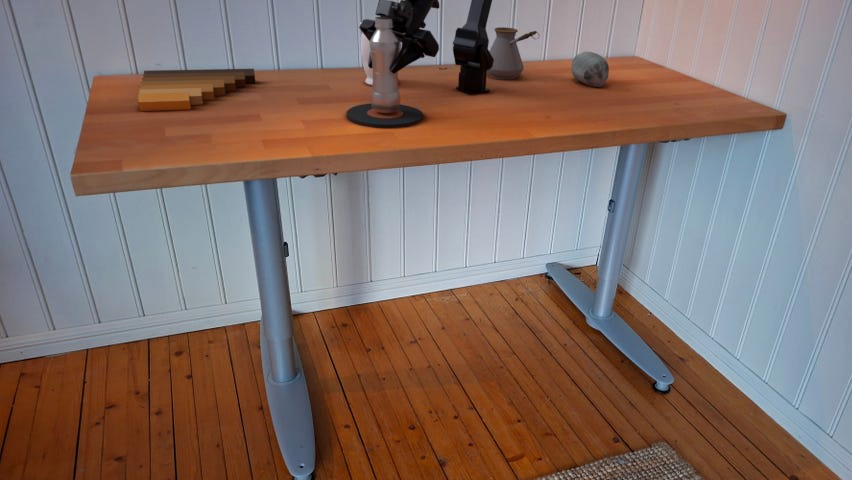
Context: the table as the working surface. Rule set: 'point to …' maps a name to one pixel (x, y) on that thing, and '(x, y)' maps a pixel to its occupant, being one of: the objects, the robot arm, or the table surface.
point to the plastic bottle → (384, 67)
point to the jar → (367, 58)
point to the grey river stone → (590, 69)
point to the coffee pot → (507, 54)
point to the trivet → (384, 116)
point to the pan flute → (188, 87)
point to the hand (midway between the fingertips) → (380, 69)
